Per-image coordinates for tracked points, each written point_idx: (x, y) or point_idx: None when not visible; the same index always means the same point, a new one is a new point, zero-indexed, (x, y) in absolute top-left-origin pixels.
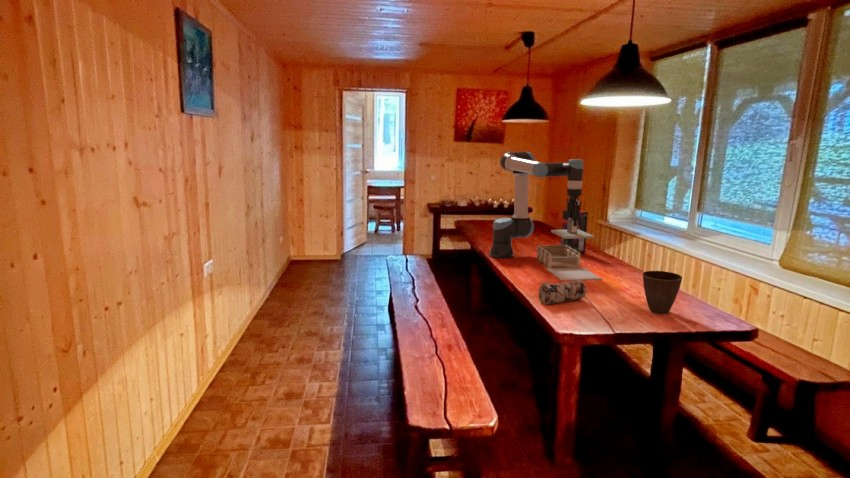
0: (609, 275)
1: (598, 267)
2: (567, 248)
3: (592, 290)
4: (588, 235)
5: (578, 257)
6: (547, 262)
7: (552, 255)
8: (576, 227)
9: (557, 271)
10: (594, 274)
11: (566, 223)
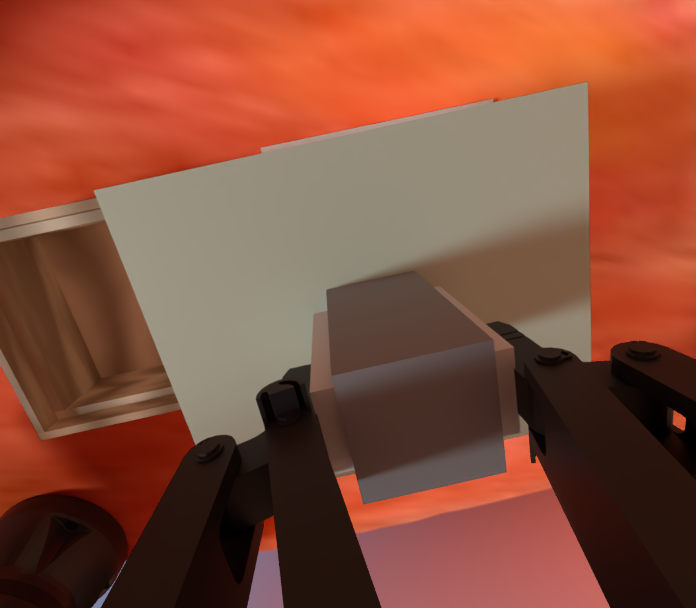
0: (399, 17)
1: (208, 36)
2: (9, 228)
3: (658, 198)
4: (553, 155)
5: None
6: None
7: (59, 314)
8: (461, 308)
9: None
10: (409, 119)
11: None
